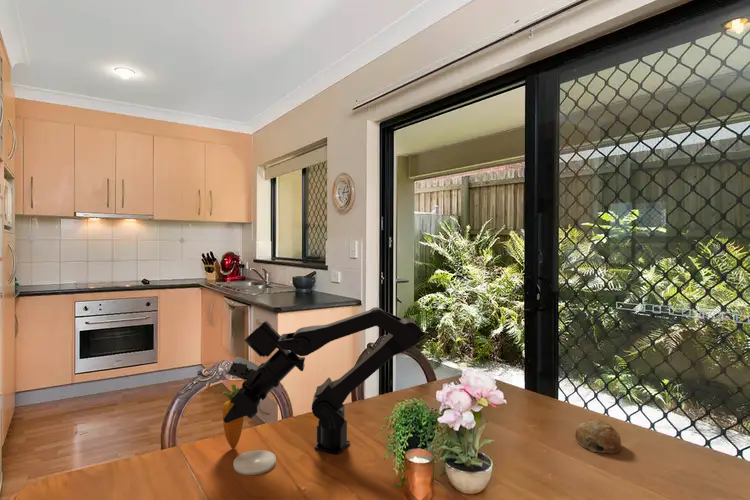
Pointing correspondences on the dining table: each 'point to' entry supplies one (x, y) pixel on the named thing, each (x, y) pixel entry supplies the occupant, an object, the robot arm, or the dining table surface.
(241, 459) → the smooth white pebble
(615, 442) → the bread roll
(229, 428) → the carrot
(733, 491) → the dining table surface
